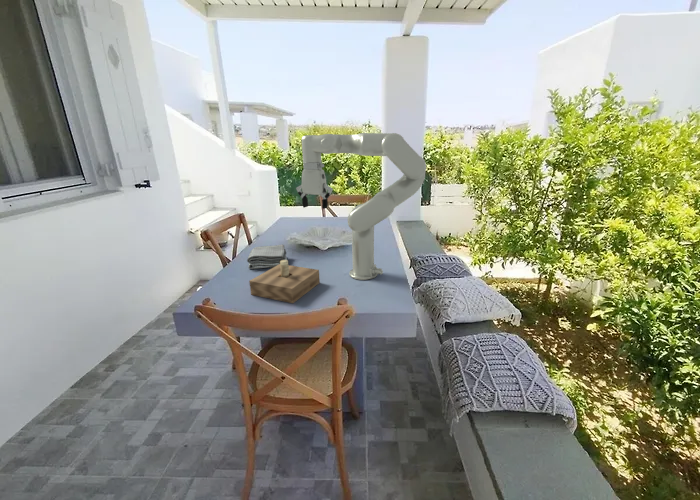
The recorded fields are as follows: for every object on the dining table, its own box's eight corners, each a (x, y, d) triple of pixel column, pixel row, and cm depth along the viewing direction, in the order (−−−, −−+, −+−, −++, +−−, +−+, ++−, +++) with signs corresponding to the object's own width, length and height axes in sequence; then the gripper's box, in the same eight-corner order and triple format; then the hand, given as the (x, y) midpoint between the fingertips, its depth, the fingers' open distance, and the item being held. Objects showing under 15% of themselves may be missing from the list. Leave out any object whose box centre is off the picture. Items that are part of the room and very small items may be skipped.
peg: (291, 285, 134) (289, 260, 130) (287, 288, 131) (284, 262, 127) (285, 284, 135) (282, 259, 131) (281, 287, 132) (278, 262, 129)
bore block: (319, 282, 138) (318, 269, 136) (293, 303, 120) (291, 288, 119) (281, 276, 146) (280, 263, 144) (251, 294, 129) (249, 280, 127)
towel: (252, 260, 169) (250, 245, 166) (287, 257, 171) (286, 243, 169) (248, 270, 154) (245, 255, 152) (286, 267, 157) (285, 252, 154)
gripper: (335, 166, 134) (336, 207, 139) (299, 166, 141) (302, 205, 146) (326, 167, 127) (328, 210, 132) (290, 167, 134) (293, 208, 139)
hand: (315, 207), depth 139 cm, fingers open, 9 cm apart
